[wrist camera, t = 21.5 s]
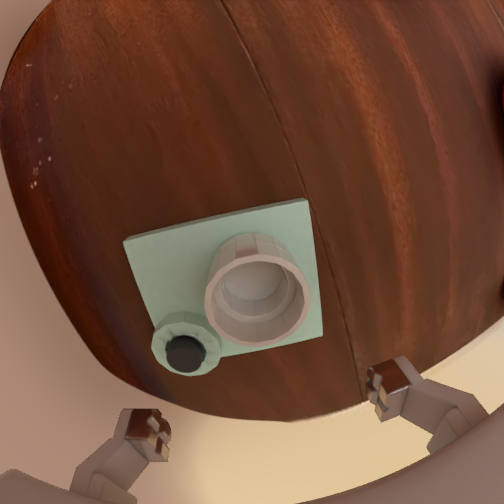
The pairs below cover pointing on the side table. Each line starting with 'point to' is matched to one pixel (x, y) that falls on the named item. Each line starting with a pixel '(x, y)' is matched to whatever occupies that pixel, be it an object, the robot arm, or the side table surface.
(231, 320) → the bowl
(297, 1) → the side table surface
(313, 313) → the scale
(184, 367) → the tare button
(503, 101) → the vase
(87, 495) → the robot arm
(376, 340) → the side table surface
